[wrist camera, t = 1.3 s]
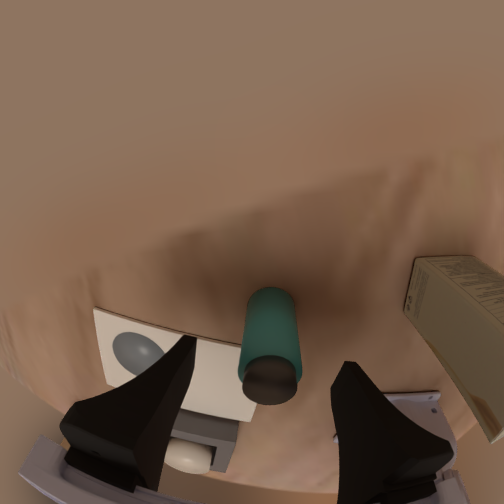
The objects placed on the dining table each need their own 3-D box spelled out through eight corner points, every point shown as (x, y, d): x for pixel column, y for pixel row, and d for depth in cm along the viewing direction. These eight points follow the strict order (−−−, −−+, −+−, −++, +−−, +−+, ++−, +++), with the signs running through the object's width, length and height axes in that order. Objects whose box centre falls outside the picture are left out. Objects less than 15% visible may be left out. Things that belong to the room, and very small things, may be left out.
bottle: (299, 292, 17) (313, 370, 10) (287, 330, 18) (293, 411, 11) (252, 283, 17) (241, 359, 10) (243, 322, 18) (230, 403, 11)
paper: (273, 351, 19) (273, 354, 18) (250, 419, 22) (250, 422, 21) (94, 306, 19) (92, 309, 18) (108, 381, 22) (106, 384, 21)
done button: (215, 436, 21) (210, 461, 19) (211, 454, 23) (207, 477, 20) (170, 426, 21) (162, 450, 18) (171, 445, 23) (164, 466, 20)
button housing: (238, 420, 22) (235, 442, 20) (228, 454, 25) (225, 472, 22) (155, 401, 22) (146, 421, 19) (159, 438, 25) (153, 455, 22)
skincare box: (401, 312, 17) (482, 450, 6) (413, 255, 16) (538, 380, 4) (464, 305, 17) (548, 406, 5) (477, 254, 15) (587, 342, 4)
